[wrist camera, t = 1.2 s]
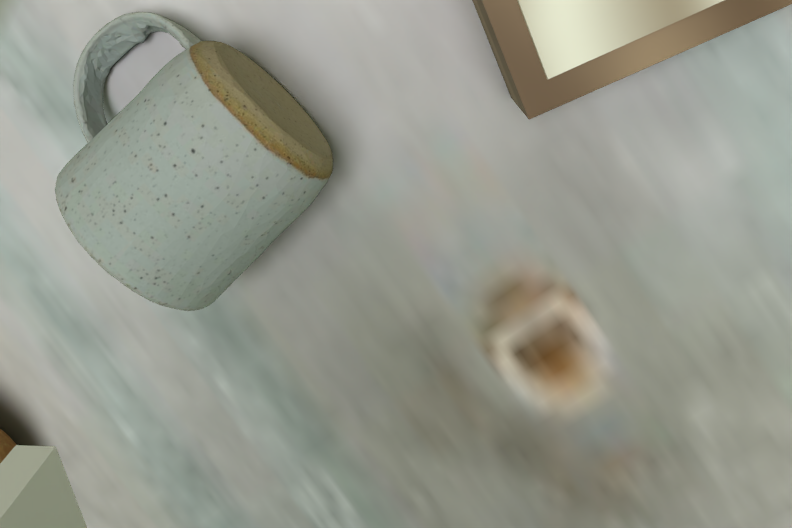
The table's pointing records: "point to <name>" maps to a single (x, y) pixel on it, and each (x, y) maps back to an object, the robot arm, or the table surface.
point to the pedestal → (598, 40)
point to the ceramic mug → (186, 166)
